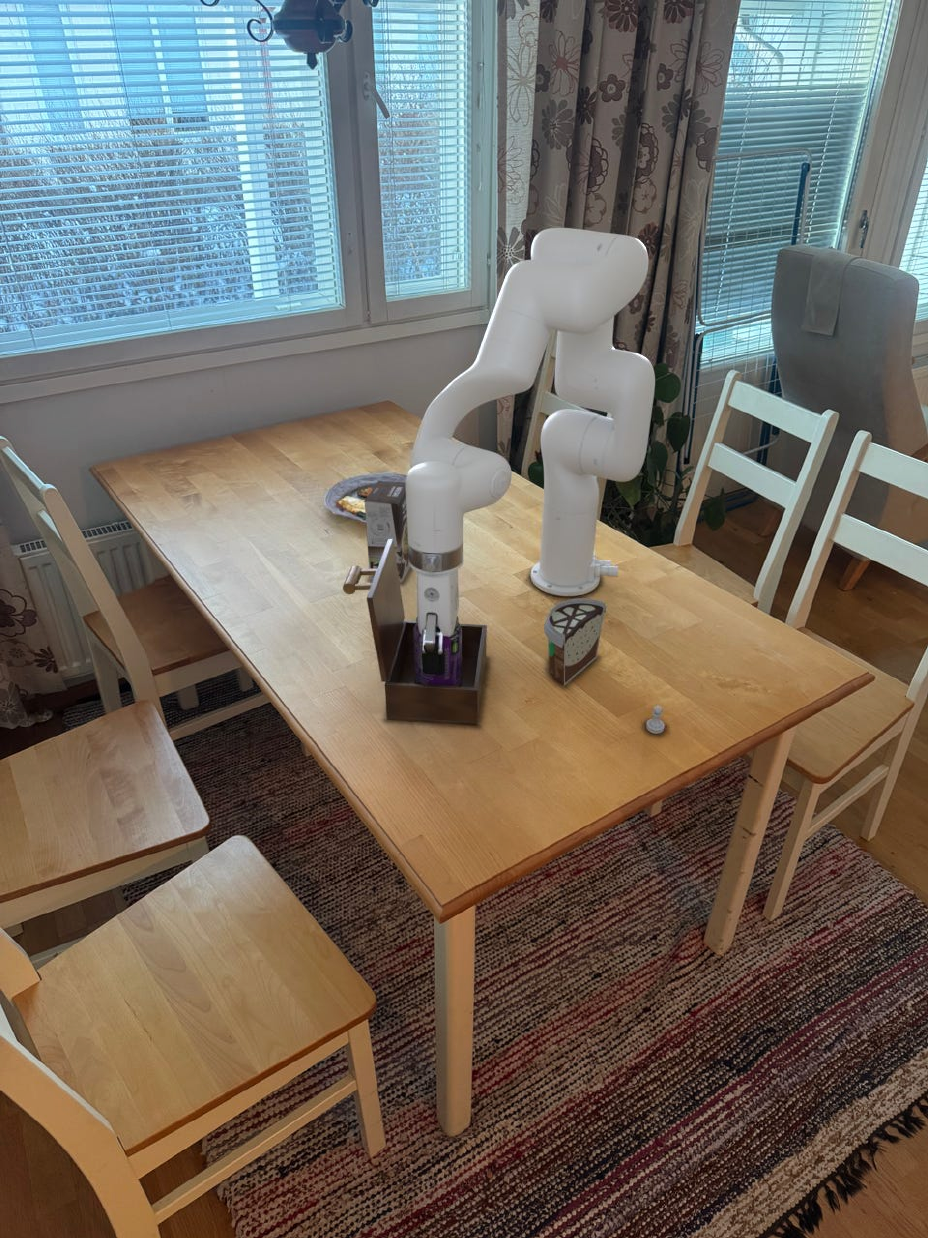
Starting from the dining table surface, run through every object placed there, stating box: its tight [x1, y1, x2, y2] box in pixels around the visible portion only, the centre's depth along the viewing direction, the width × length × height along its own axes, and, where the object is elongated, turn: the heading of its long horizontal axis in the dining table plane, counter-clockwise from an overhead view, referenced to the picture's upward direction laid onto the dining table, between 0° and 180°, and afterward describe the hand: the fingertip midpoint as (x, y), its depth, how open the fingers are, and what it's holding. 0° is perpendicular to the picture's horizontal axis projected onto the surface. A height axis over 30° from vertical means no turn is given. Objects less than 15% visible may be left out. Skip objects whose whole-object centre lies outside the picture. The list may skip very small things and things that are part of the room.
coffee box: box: [365, 481, 411, 584], centre depth 154 cm, size 9×6×16 cm
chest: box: [383, 619, 488, 727], centre depth 128 cm, size 13×16×7 cm
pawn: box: [645, 705, 666, 735], centre depth 121 cm, size 3×3×4 cm
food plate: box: [323, 471, 407, 524], centre depth 180 cm, size 25×23×4 cm
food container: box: [543, 598, 607, 687], centre depth 132 cm, size 12×6×10 cm, turn 141°
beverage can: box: [413, 615, 462, 687], centre depth 126 cm, size 7×7×12 cm
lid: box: [342, 539, 406, 683], centre depth 123 cm, size 14×16×6 cm
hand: (437, 654), depth 126 cm, fingers open, 8 cm apart
